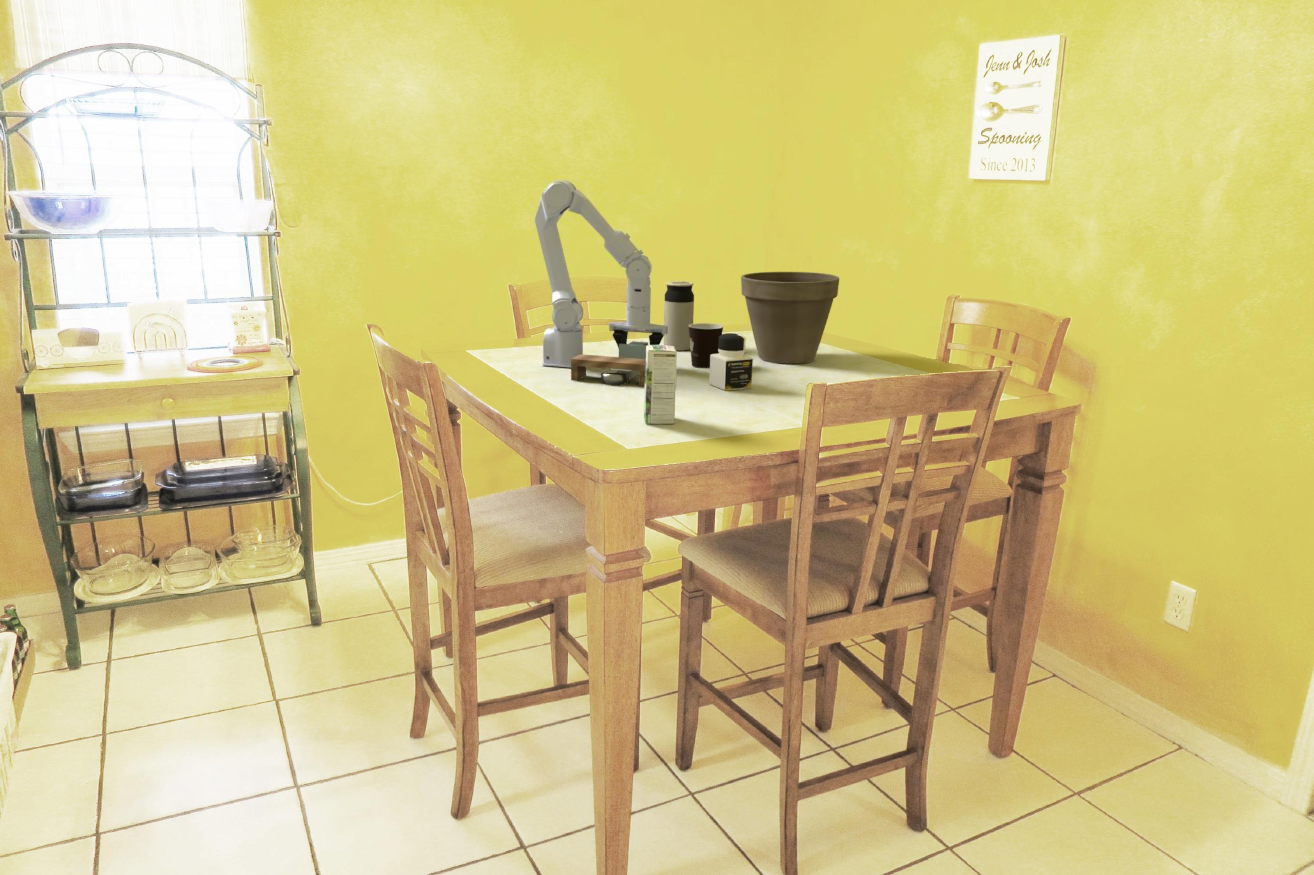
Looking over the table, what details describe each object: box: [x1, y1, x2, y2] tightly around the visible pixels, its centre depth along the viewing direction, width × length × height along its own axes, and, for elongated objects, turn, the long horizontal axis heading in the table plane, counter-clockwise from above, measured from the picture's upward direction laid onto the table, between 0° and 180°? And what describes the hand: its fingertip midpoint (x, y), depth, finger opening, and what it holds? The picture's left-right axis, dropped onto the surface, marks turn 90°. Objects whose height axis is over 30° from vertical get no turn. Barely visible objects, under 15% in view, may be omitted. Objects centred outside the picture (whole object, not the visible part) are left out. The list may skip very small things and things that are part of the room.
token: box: [600, 369, 628, 387], centre depth 209 cm, size 6×6×2 cm
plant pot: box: [740, 271, 840, 365], centre depth 237 cm, size 25×25×22 cm
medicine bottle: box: [708, 332, 754, 392], centre depth 206 cm, size 7×7×12 cm
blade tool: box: [609, 340, 649, 382], centre depth 219 cm, size 8×17×6 cm, turn 164°
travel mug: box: [663, 280, 695, 352], centre depth 248 cm, size 8×8×18 cm
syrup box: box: [643, 344, 678, 425], centre depth 176 cm, size 6×6×14 cm
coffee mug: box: [689, 322, 724, 369], centre depth 230 cm, size 12×9×10 cm
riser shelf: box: [570, 353, 646, 387], centre depth 210 cm, size 18×6×5 cm, turn 74°
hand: (638, 361), depth 226 cm, fingers closed on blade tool, 7 cm apart
